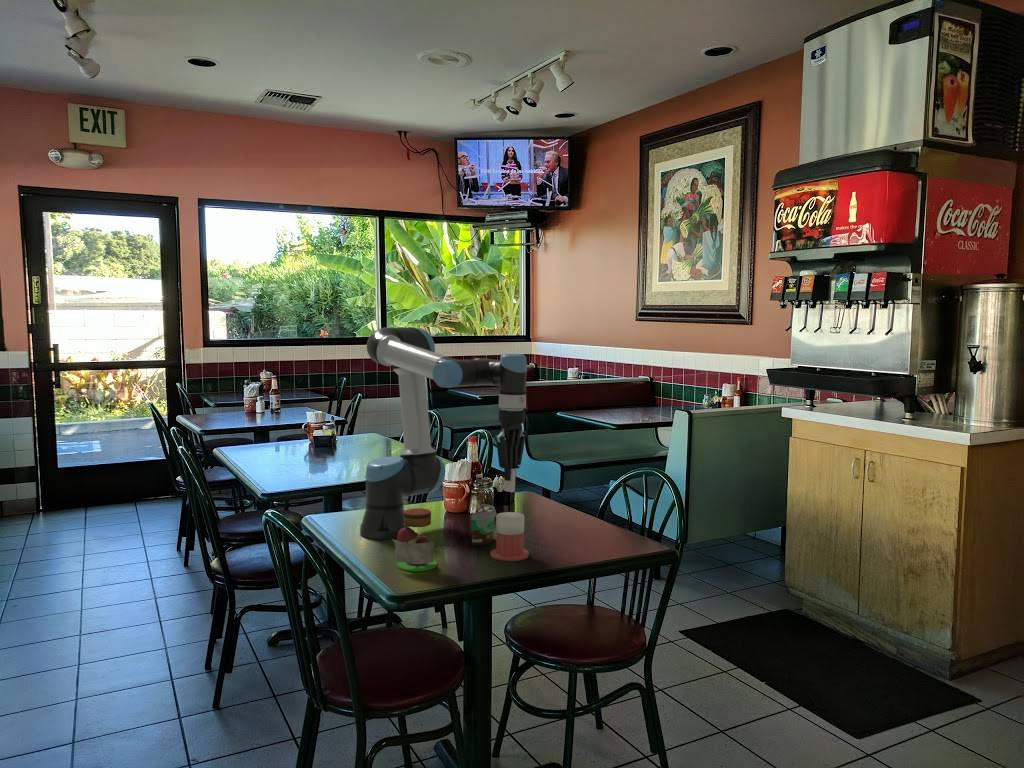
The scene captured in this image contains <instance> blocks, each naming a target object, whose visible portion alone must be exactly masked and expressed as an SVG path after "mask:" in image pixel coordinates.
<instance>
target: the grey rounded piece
mask: <svg viewBox="0 0 1024 768" xmlns="http://www.w3.org/2000/svg"><path fill="white" fill-rule="evenodd" d="M495 519H496V520H495V521H496V523H495V532H496V534H497V533H499V534H503V535H518V534H522V533H525V514H523V513H520V512H514V511H512V512H511V511H509V512H508V511H507V512H506V511H505V512H504V511H503V512H499V513H496V516H495Z"/></svg>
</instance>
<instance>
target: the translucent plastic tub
mask: <svg viewBox="0 0 1024 768" xmlns="http://www.w3.org/2000/svg"><path fill="white" fill-rule="evenodd" d="M431 524H432V511H431V510H430V509H427V508H420V507H418V508H416V507H415V508H414V507H413V508H408V509H406V510H405V509H404V525H405V526H409V528H408V527H407V528H402V529H400V530H399V532H398V537H397V538H396V539H391V541H393V543H394V548H395V555H394V556H395V558H394V559H395V561H397V567H398V569H400V570H403V571H407V572H425V571H430V570H432V569H434V568H436V567H437V566H438V564H437V561H436V560H435V557H434V556H435V555H434V550H435V542H434V541H430V540H429V538H428V537H427V536H425V535H420V536H419V533H417V532H416V531H415V530H414V529H412V528H425V527H427V526H430V525H431ZM414 540H415V541H414ZM412 541H414V542H413V543H411V542H412Z"/></svg>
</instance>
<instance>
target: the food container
mask: <svg viewBox="0 0 1024 768" xmlns="http://www.w3.org/2000/svg"><path fill="white" fill-rule="evenodd" d="M496 515H497V511H496V509H495V506H494V505H490V504H487V503H486V504H484V503H481V504H480V507H479V508H477V509H476V510H475V512H471V515H470V516H471V518H470V519H471V544H472V546H473V545H474V546H479V545H487V544H491V543H492V542H493V535H494V527H495V526H494V523H495V518H496Z"/></svg>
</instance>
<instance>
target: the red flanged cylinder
mask: <svg viewBox="0 0 1024 768" xmlns="http://www.w3.org/2000/svg"><path fill="white" fill-rule="evenodd" d="M524 533H525V532H524ZM524 533H522V534H518V535H503V534H499V533H497V532H496V538H495V539H496V543H495V544H496V546H495V547H496V548H493V549H492V550H491V551H490V557H491V558H492V559H494V560H497V561H502V562H518V561H519V562H520V561H524V560H526V559H529V557H530V551H529V550H527V549H525V548H524V540H525V539H524V535H525V534H524Z"/></svg>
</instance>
